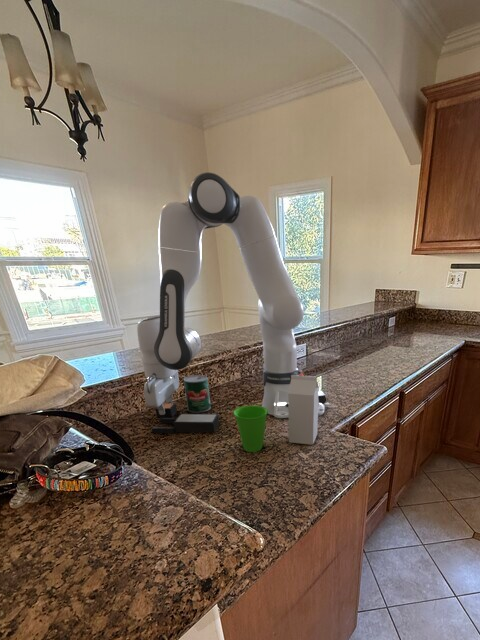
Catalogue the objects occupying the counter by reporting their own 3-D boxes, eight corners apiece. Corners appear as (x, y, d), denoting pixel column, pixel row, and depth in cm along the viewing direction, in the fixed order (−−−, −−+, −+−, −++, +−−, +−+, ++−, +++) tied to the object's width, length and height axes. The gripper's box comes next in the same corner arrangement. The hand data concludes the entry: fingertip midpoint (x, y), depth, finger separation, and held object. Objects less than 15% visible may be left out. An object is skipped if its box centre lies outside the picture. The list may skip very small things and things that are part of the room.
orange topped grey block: (177, 412, 121) (175, 403, 119) (172, 417, 116) (170, 408, 115) (162, 412, 121) (160, 402, 119) (156, 417, 116) (155, 408, 115)
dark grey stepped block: (219, 422, 113) (218, 413, 112) (213, 433, 106) (212, 423, 104) (162, 422, 113) (160, 412, 111) (152, 432, 106) (150, 422, 104)
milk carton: (313, 445, 100) (314, 380, 92) (288, 442, 101) (287, 378, 93) (317, 434, 106) (319, 373, 98) (294, 432, 107) (294, 371, 99)
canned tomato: (194, 414, 119) (189, 383, 114) (183, 408, 124) (179, 377, 119) (215, 409, 124) (211, 378, 119) (204, 402, 129) (200, 373, 124)
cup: (276, 448, 98) (274, 411, 93) (249, 459, 92) (246, 421, 87) (256, 437, 104) (254, 402, 99) (230, 447, 98) (226, 410, 93)
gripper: (156, 379, 102) (164, 423, 108) (179, 362, 121) (185, 399, 127) (134, 379, 102) (144, 422, 108) (161, 361, 121) (167, 399, 127)
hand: (166, 410), depth 118 cm, fingers closed on orange topped grey block, 5 cm apart
